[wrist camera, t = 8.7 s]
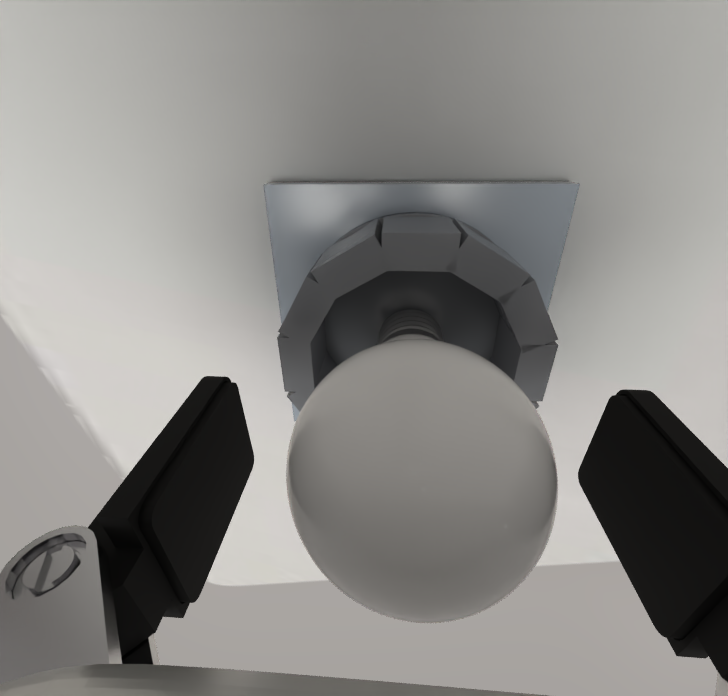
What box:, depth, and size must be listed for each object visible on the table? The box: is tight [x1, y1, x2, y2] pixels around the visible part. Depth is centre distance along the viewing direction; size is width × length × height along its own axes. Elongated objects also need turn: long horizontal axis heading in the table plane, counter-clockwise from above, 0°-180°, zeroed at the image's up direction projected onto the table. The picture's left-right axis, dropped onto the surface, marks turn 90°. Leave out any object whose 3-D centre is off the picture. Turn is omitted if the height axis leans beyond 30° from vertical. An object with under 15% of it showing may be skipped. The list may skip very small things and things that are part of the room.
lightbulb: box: [286, 309, 558, 623], centre depth 11 cm, size 6×6×11 cm
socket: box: [264, 181, 580, 421], centre depth 16 cm, size 12×12×5 cm
